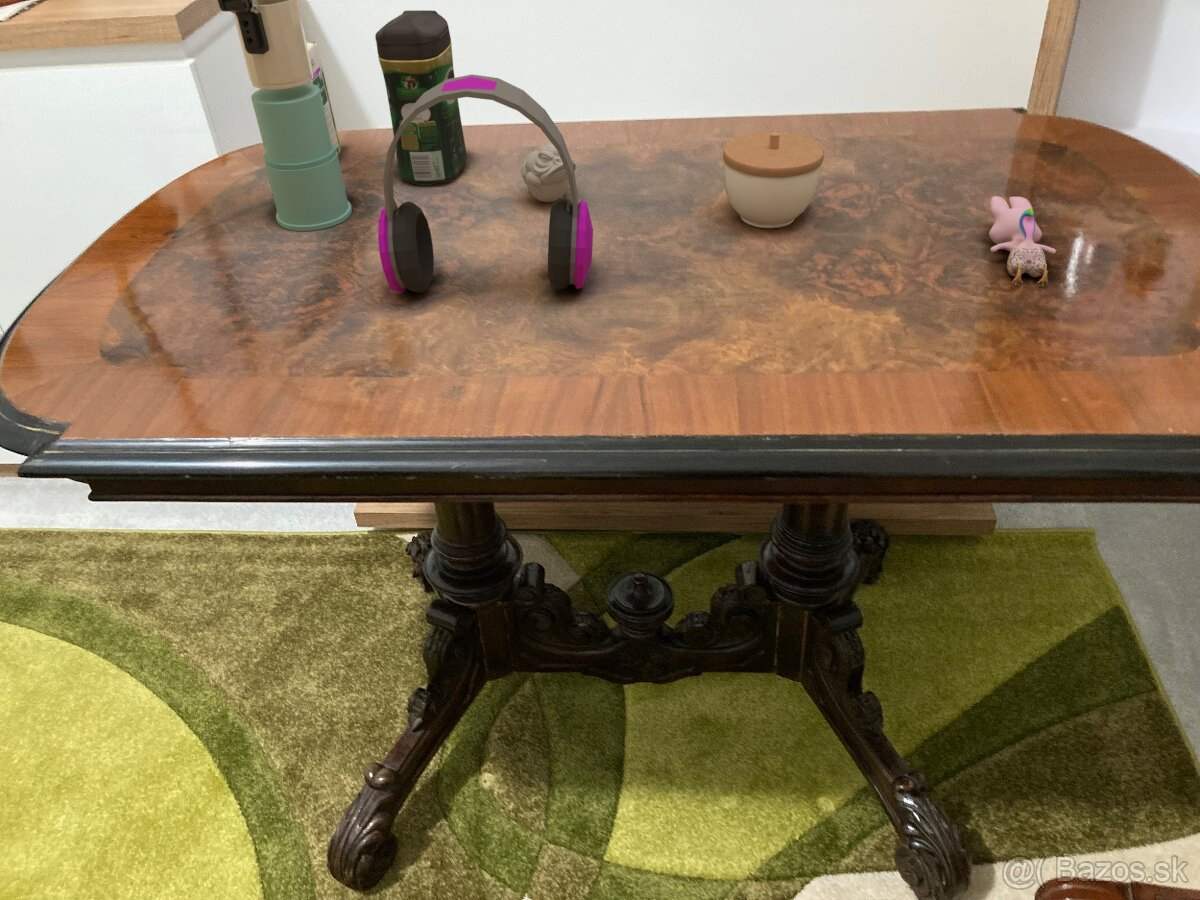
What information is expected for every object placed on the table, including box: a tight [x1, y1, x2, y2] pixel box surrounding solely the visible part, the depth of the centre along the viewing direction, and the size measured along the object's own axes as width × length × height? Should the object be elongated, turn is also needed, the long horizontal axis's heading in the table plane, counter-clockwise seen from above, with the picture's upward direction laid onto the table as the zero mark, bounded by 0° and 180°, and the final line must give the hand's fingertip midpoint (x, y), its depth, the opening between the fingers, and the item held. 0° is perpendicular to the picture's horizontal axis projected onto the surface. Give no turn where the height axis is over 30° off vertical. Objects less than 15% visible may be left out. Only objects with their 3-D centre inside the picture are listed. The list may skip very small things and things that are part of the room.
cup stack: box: [250, 83, 353, 232], centre depth 103 cm, size 9×9×14 cm
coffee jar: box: [374, 9, 468, 186], centre depth 111 cm, size 10×8×19 cm
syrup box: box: [306, 40, 342, 155], centre depth 115 cm, size 6×6×14 cm
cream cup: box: [232, 0, 313, 90], centre depth 95 cm, size 6×6×8 cm
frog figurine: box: [520, 142, 577, 203], centre depth 106 cm, size 6×7×7 cm
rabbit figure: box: [988, 195, 1057, 287], centre depth 93 cm, size 6×6×15 cm
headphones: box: [377, 73, 594, 294], centre depth 86 cm, size 21×9×20 cm, turn 90°
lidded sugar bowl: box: [722, 131, 825, 229], centre depth 100 cm, size 11×11×9 cm
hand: (273, 42), depth 95 cm, fingers closed on cream cup, 6 cm apart
